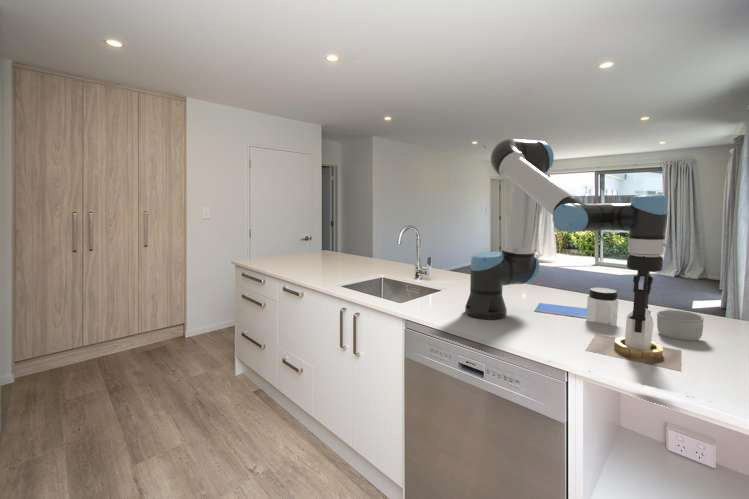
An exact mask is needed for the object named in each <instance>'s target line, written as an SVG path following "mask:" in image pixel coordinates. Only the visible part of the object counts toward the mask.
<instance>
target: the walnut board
mask: <svg viewBox="0 0 749 499" xmlns="http://www.w3.org/2000/svg"><path fill="white" fill-rule="evenodd" d="M616 338H617V337H613V336H607V335H604V334H603V335H602V334H597V333H596V334H595V335H594V336H593V338H592V339H591V341H590V343H589V344H588V346H587V347H586V349H585V352H591V353H594V354H595V353H596V354H599V355H603V356H609V357H614V358H616V359H621V360H626V361H627V360H628V361H632V362H636V363H641V364H645V365H648V366H653V367H659V368H663V369H666V370H667V369H668V370H673V371H677V372H682V350H680V349H675V348H671V347H665V346H662V347H663V353H662V358H660V359H656V360H651V359H640V358H635V357H631V356H627V355H625V354H622V353H620V352H618V351H617V350H616V349H614V342H615V339H616Z"/></svg>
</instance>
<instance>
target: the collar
mask: <svg viewBox="0 0 749 499" xmlns="http://www.w3.org/2000/svg"><path fill="white" fill-rule="evenodd" d="M615 338H616V339H615V342H614V349H616V350H617V351H618V352H620V353H622V354H625V355H627V356H631V357H635V358H640V359H651V360H656V359H660V358H662V353H663V347H664V346H661V344H659V343H657V342H654V341H651V350H640V349H635V348H631V347H628V346H625V336H620V337H615Z"/></svg>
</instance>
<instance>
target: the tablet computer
mask: <svg viewBox="0 0 749 499" xmlns="http://www.w3.org/2000/svg"><path fill="white" fill-rule="evenodd" d="M533 312H536V313H544V314H551V315H559V316H566V317H575V318H579V319H580V318H583V319H586V316H587V307H577V306H569V305H559V304H550V303H543V302H539V303H537V305H536V307H535V308H534V309H533Z"/></svg>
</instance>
